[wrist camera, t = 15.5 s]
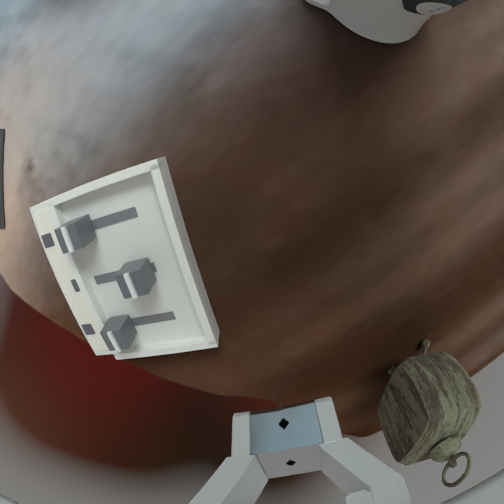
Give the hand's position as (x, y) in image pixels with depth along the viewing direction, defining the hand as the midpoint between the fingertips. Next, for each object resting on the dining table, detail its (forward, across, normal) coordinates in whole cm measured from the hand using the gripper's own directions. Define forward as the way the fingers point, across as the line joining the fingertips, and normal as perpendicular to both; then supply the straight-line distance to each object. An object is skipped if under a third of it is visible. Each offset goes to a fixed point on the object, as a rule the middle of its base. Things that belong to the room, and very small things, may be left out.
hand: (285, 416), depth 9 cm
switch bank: (+28, +19, +5) cm, 34 cm away
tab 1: (+26, +21, -2) cm, 34 cm away
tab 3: (+26, +21, +12) cm, 35 cm away
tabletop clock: (+28, -18, +32) cm, 47 cm away
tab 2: (+26, +15, +4) cm, 31 cm away
